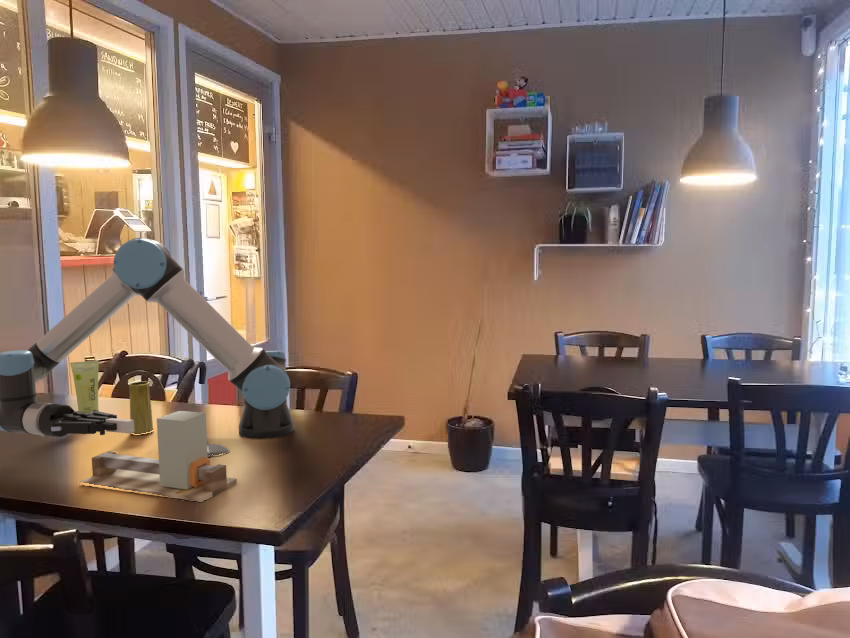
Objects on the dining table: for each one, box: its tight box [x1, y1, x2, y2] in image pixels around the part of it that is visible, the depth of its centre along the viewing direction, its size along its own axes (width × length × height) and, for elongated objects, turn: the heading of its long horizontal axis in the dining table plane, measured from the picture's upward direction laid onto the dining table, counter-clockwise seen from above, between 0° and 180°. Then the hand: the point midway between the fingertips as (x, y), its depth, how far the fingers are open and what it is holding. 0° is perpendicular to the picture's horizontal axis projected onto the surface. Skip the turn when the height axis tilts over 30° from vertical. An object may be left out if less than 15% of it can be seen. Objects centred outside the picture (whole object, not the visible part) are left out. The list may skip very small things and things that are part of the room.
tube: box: [69, 359, 100, 414], centre depth 190 cm, size 6×5×20 cm
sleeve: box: [156, 410, 211, 489], centre depth 141 cm, size 8×7×15 cm
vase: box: [128, 380, 154, 434], centre depth 184 cm, size 6×6×14 cm
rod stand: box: [79, 450, 238, 502], centre depth 144 cm, size 32×12×5 cm, turn 71°
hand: (131, 426), depth 145 cm, fingers closed
